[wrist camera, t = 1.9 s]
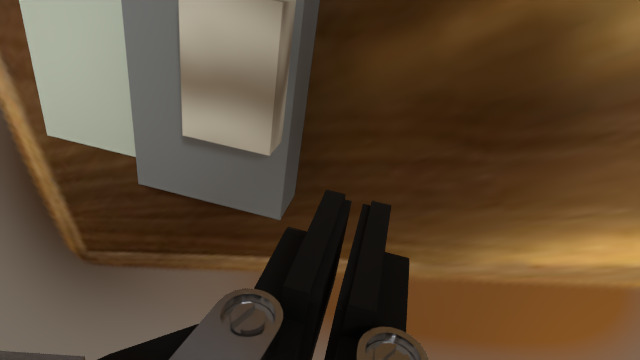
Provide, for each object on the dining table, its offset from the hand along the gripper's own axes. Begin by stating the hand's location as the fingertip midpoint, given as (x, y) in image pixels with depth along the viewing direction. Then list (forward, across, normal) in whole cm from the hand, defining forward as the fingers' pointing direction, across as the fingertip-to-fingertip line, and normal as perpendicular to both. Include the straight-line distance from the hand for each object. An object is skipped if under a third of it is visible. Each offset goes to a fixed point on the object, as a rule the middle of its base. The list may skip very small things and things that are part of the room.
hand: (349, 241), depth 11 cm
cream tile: (+15, +10, 0) cm, 18 cm away
